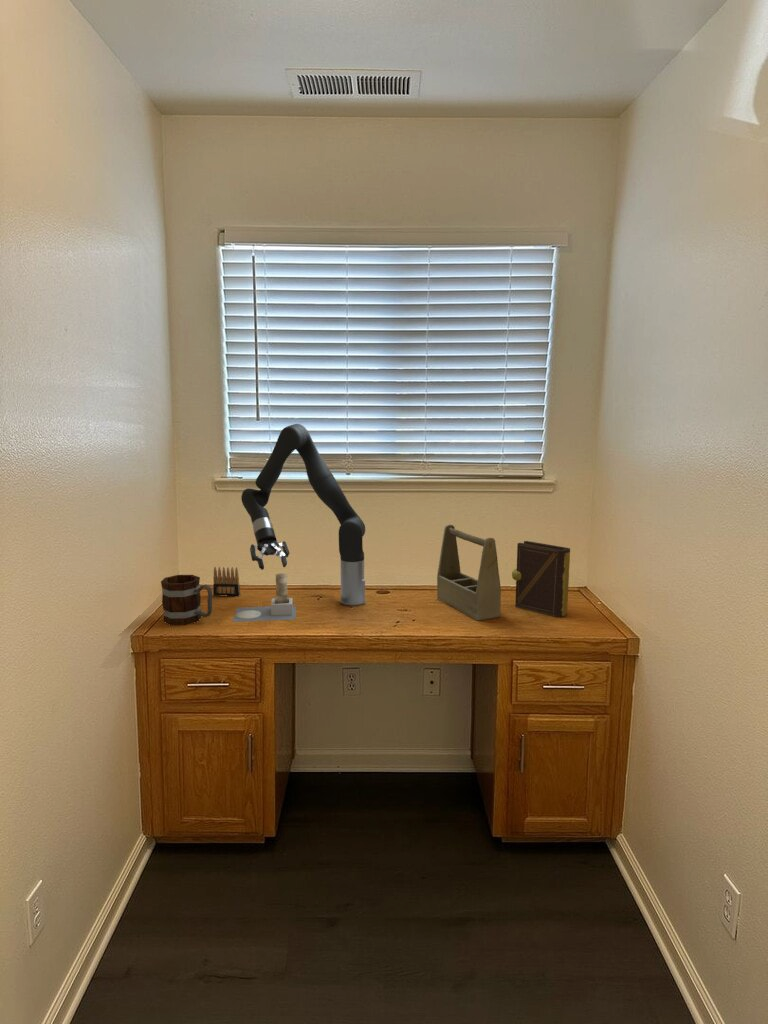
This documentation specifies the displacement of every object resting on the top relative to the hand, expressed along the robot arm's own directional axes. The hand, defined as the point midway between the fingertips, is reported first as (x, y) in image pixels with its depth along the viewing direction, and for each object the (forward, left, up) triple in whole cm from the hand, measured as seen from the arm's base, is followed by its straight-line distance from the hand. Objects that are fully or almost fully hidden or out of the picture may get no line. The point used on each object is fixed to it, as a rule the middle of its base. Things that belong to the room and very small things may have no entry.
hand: (274, 567), depth 247 cm
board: (+3, +9, -16) cm, 19 cm away
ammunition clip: (+20, -20, -17) cm, 33 cm away
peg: (-3, +8, -15) cm, 17 cm away
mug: (+30, +9, -17) cm, 36 cm away
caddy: (-73, +7, -17) cm, 75 cm away
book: (-99, +13, -17) cm, 101 cm away
